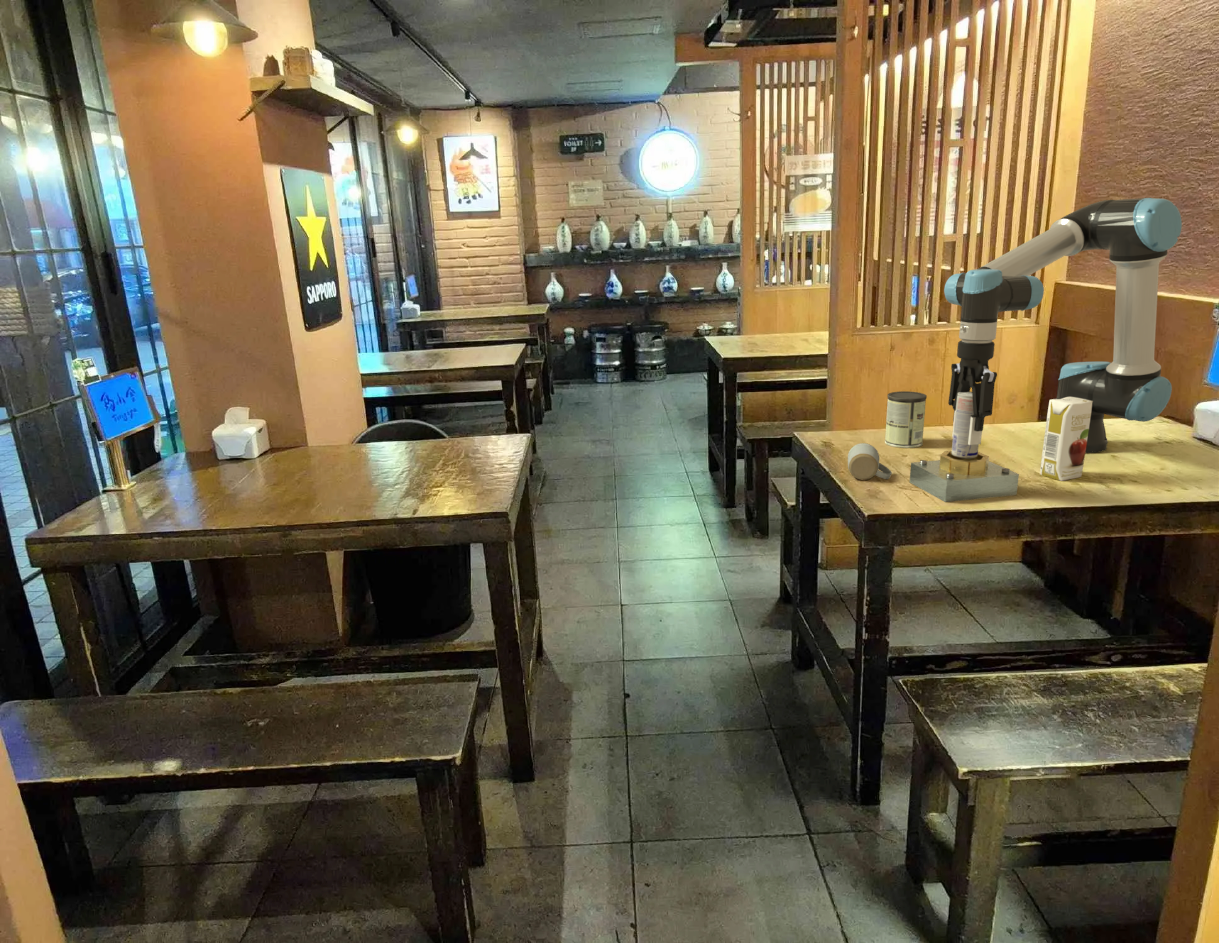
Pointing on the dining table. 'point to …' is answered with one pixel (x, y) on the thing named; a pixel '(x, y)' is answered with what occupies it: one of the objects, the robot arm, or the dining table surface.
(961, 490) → the metal socket fixture
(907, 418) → the coffee can
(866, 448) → the ceramic mug
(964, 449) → the beverage can
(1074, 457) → the juice carton
